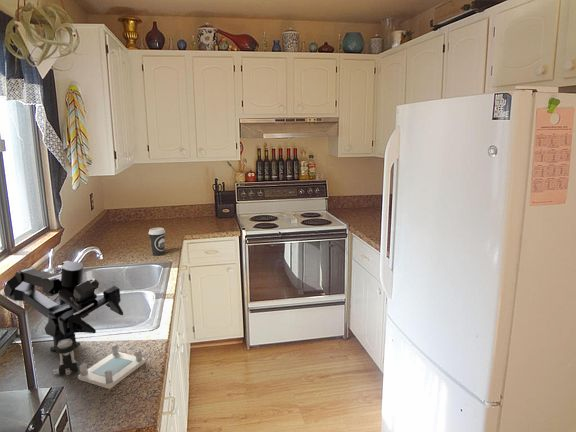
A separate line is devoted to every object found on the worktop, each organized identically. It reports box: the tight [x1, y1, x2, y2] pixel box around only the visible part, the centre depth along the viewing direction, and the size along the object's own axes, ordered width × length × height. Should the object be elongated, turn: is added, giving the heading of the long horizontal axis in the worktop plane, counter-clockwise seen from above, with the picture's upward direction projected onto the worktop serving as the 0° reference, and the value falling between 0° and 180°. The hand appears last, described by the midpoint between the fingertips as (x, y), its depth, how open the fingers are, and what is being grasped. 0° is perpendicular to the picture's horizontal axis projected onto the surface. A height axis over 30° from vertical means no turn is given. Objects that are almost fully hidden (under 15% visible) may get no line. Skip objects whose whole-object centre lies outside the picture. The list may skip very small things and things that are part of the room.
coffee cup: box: [147, 227, 166, 257], centre depth 229 cm, size 10×10×15 cm
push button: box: [52, 339, 79, 376], centre depth 116 cm, size 7×5×10 cm
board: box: [77, 343, 146, 390], centre depth 118 cm, size 12×14×4 cm
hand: (109, 322), depth 116 cm, fingers open, 9 cm apart
